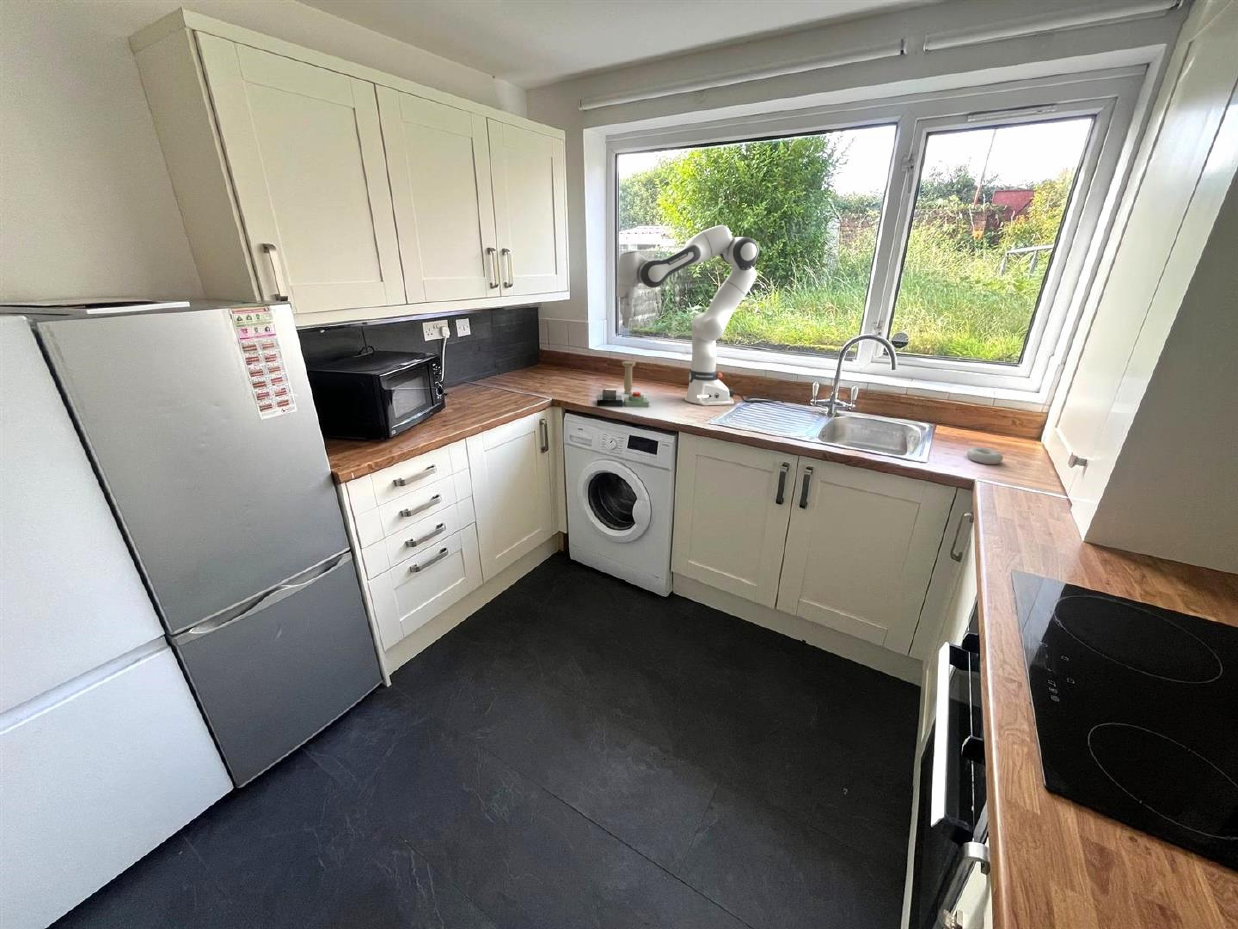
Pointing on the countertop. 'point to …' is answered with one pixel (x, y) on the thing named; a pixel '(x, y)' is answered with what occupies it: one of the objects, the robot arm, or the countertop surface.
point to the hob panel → (609, 401)
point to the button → (636, 394)
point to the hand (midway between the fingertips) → (625, 326)
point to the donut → (984, 455)
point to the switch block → (635, 401)
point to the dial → (609, 393)
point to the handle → (628, 376)
